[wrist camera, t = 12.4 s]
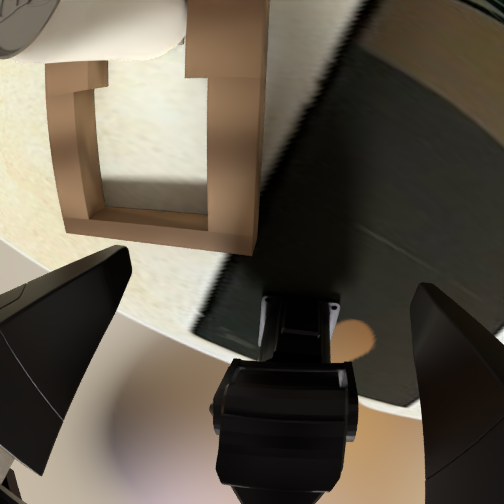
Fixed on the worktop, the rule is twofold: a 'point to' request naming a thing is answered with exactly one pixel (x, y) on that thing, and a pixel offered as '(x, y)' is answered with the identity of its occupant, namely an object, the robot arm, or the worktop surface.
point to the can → (89, 29)
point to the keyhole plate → (218, 136)
